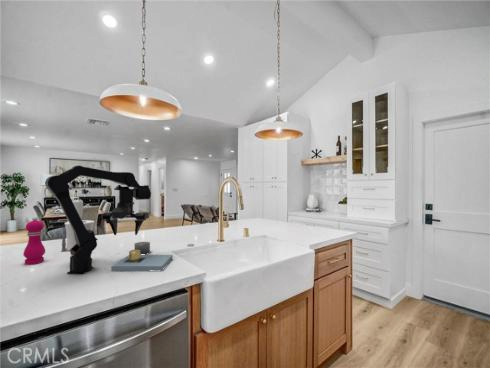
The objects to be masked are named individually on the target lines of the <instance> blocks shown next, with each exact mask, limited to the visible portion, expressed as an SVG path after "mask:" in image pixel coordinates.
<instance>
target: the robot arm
mask: <svg viewBox="0 0 490 368" xmlns="http://www.w3.org/2000/svg"><path fill="white" fill-rule="evenodd" d="M79 177H86V178H91V179H98V180H104V181H110V182H113V183H114V184H115V183H116V184H118V185H116V187H114V188H113V191H118V202H117V205H116V207H114V209H113V210H112V211H106V212H103V213H102V215H101V220H102V221H103V220H104V222H107V223H108V224H109V225H110V228H111V231H112V232H113V235H114V236H116V235H118V234H117V233H118V219H120V220H123V219H129V218H131V219H135V220H134V223H135V227H134V234H135V236H137V235H138V233H139V231H140V229H141V227H142V225H143V223H144V221H146V220H147V219H149V218H150V213H149V212H148V211H140V212H136V213H135V210H134V205H135V201H137V200H139V201H140V200H145V201H146V200H150V199H151V197H152V192H151V189H150V186H149V185H148V184H147V185H146V184H145V185H140V183H138V181H137V180H136V176H135V174H134V173H133V172H129V171H128V172H127V171H125V172H124V171H110V170H102V169H98V168H93V167H87V166H83V165H80V164H78V165H74V166H72V167H71V168H69V169H68V170H66V171H64V172H62V173H60V174H58V175H51V176H49V177H47V178H46V179H45V181H44V185H45V187H46V189H47V190H48V191H49V192H50V194H52V196H53V197H54V198H55V199H56V200H57V202H58V204H59V206H60V208H61V209H62V212H63V213H64V215H65V218H66V219H68V221H69V223H70V225H71V227H72V229H73V231H74V236H75V241H76V244H75V245H74V246H73V247H72V248H71V249H70V251H69V252H70V253H71V254H72V255H73V256H71V254H70V256H69V271H66V274H68V275H74V274H75V275H77V274H78V275H81V274H86V273H88V272H89V271H91V270H92V269H94V267H93V258H92V253H93V251H94V250H95V249H96V248H97V246H98V240H99V239H98V238H97V237H96V235H95V232H94V231H93V230H90V229H89V230H87V229H86V228H85V226H84V224H83V222H82V220H81V218H80V216H79V214H78V212H77V210H76V208H75V206H74V204H73V202H72V200H73V199H71V198H72V197H71V194H70V188H69V184H70V183H72V182H73V181H74V180H75V179H78V178H79ZM134 199H135V201H134Z"/></svg>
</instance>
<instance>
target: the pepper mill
mask: <svg viewBox="0 0 490 368" xmlns="http://www.w3.org/2000/svg"><path fill="white" fill-rule="evenodd" d="M38 219H39V218H38V217H37V216H34V217H32V220H30V221H29V222H27V223H26V225H25V229H26V231H27V237H28V240H27V241H28V242H27V245H26V247H25V248H24V250H23V257H24V258H26V259H24V264H25V265H29V266H30V265H38V264H40V263H44V261H45V260H44V259H45V258H44V255H45V254H46V248H45V246H44V244H43V242H42V235H43V229H44V227H45V224H44V222H42V221H41V220H38Z"/></svg>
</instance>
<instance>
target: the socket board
mask: <svg viewBox="0 0 490 368" xmlns="http://www.w3.org/2000/svg"><path fill="white" fill-rule="evenodd" d="M173 256H174V254H145V255H140V263H129V254H128V255H127V256H125V257H124V258H121V259H120V260H119V261H117V262H116V263H114V264H112V265H111V266H110V267H111V268H110V269H111V270H110V272H151V271H150V270H162V271H164V269H165V268H166V267H167V266H168V265H169V264H168V263H171V261H172V260H173V259H172V258H173ZM171 259H172V260H171ZM170 260H171V261H170ZM167 264H168V265H167ZM166 265H167V266H166ZM165 266H166V267H165ZM164 267H165V268H164ZM163 268H164V269H163Z"/></svg>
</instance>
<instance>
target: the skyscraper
mask: <svg viewBox="0 0 490 368" xmlns="http://www.w3.org/2000/svg"><path fill="white" fill-rule="evenodd" d="M70 198H71V200H72V202H73V204H74V206H75V208H76V210H77V212H78V214H79V216H80V218H81V220H82V219H83V210H84V209H83V208H84V201H83V200H81V199H80V197H79V196H74V197H70ZM79 199H80V200H79ZM66 219H67V218H66ZM66 222H69V221H68V219H67V221H66ZM62 232H63V233H62V236H61V237H62V242H61V251H60V253H65V252H66V253H67V252H70V248H69V243H68V236H67V235H66V228H65V226H64V227H63V230H62ZM66 237H67V238H66Z"/></svg>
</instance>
